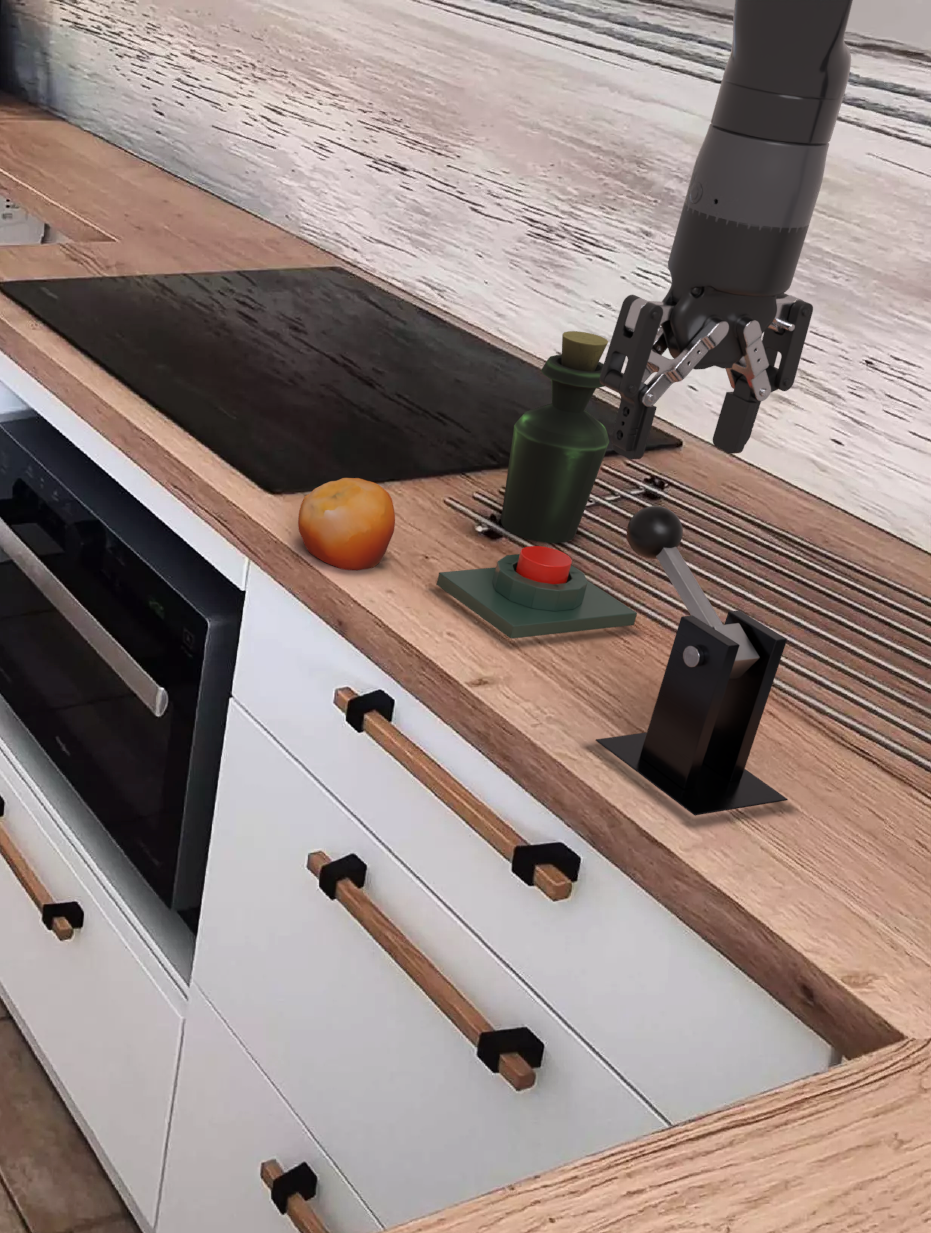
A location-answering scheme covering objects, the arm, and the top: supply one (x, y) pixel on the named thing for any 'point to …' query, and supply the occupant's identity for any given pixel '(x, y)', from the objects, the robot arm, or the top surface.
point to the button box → (534, 601)
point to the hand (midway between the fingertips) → (677, 452)
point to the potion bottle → (557, 447)
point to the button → (544, 565)
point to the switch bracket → (707, 719)
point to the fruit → (347, 523)
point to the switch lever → (683, 575)
